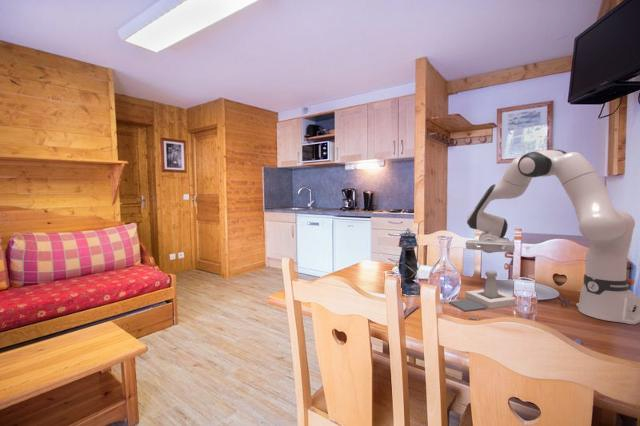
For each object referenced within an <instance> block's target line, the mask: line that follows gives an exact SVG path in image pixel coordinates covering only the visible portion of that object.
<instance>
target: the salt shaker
mask: <svg viewBox="0 0 640 426" xmlns="http://www.w3.org/2000/svg"><path fill="white" fill-rule="evenodd" d="M484 275H485V276H486V281H485V285H484V293H483V296H484V297H486V298H489V299H495V298H498V297H499V294H498V291H499V289H498V284H497V279H496V278H497V276H498V272H497V271H496V270H492V269H487V270H486V271H485V274H484Z"/></svg>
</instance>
